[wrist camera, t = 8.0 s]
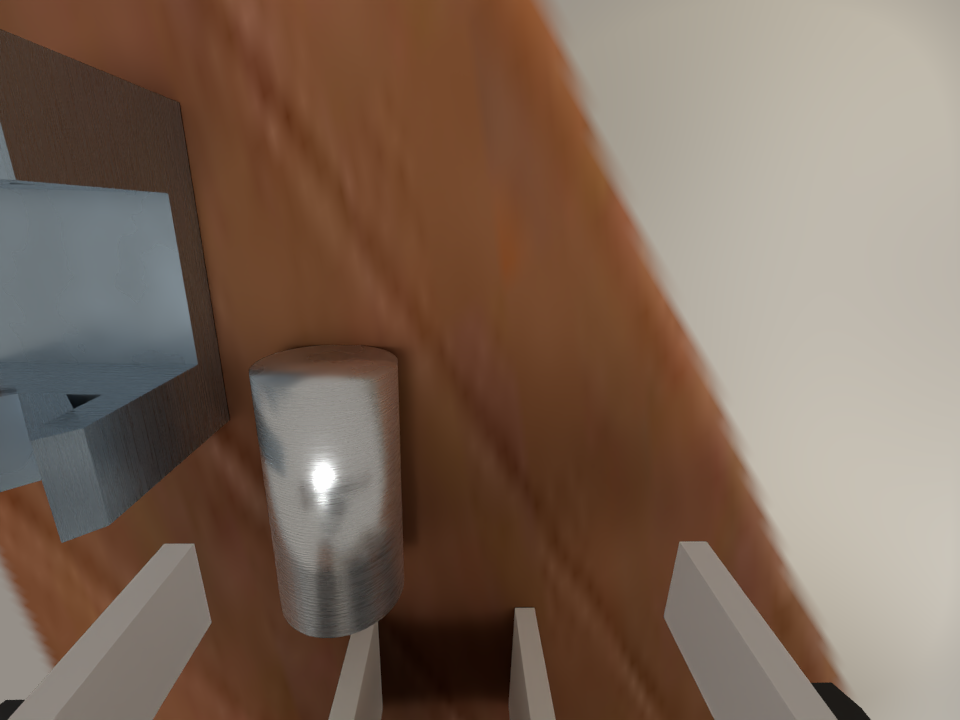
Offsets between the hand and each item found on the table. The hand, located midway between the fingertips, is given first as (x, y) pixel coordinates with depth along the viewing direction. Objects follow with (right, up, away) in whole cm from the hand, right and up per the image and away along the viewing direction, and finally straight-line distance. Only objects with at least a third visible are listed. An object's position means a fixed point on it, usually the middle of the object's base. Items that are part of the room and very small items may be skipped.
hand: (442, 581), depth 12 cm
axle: (-2, +1, +5) cm, 5 cm away
